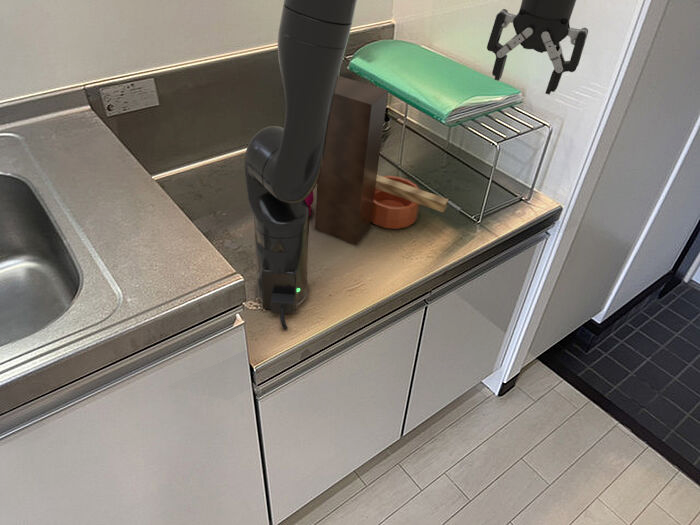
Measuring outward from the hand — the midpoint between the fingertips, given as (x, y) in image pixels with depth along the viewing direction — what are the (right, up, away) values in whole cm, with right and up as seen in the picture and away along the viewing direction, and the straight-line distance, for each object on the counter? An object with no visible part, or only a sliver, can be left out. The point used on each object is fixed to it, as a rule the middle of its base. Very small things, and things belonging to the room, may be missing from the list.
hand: (522, 85), depth 90 cm
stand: (-30, -22, +29) cm, 47 cm away
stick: (-19, -14, +31) cm, 38 cm away
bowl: (-19, -18, +35) cm, 44 cm away
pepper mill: (-40, -18, +32) cm, 55 cm away
